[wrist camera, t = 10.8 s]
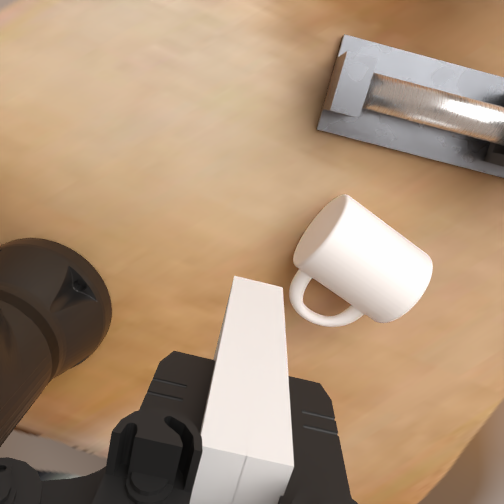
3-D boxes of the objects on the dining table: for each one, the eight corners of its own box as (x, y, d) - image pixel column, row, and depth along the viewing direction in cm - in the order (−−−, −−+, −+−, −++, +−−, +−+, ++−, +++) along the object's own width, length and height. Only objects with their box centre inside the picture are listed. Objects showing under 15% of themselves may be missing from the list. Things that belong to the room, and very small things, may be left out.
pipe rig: (316, 128, 39) (323, 133, 34) (342, 35, 36) (355, 24, 31) (561, 192, 40) (606, 206, 35) (605, 106, 37) (661, 107, 32)
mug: (339, 185, 41) (355, 204, 33) (416, 242, 42) (447, 273, 35) (267, 276, 44) (266, 312, 37) (340, 326, 46) (353, 369, 38)
